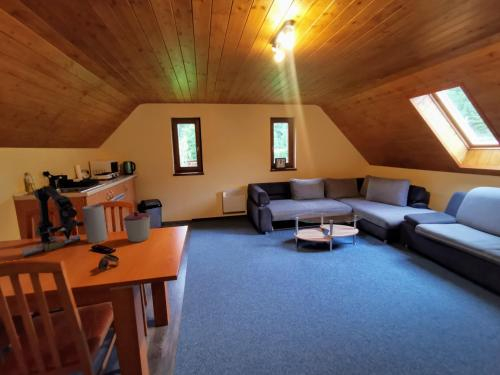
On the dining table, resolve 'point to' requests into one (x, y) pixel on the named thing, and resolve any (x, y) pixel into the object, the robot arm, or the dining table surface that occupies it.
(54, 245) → the valve
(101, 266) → the dark curved loop
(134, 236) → the canister
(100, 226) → the cylinder vase
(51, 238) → the lever
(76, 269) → the dining table surface
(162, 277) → the dining table surface
